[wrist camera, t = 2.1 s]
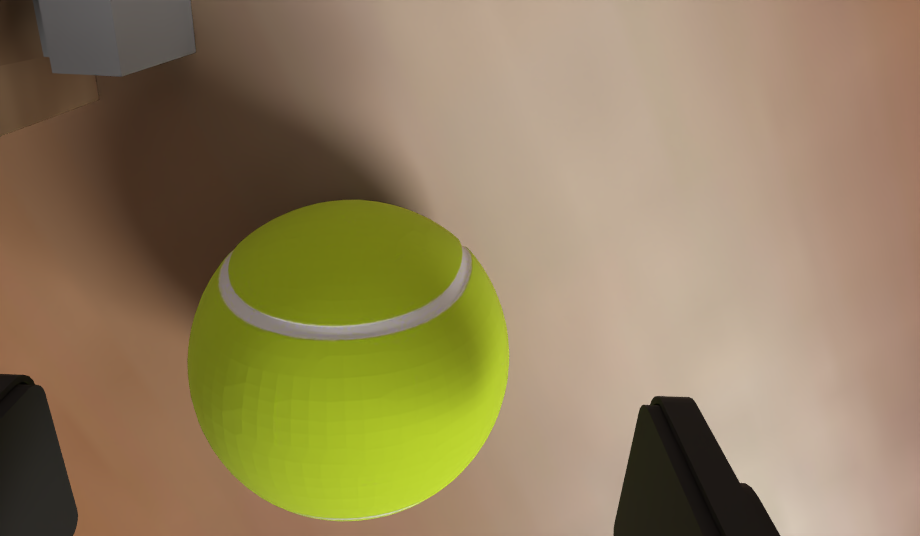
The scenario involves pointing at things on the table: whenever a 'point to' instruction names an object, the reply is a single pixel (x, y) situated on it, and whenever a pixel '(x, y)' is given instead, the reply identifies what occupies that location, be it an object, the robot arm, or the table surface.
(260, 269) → the tennis ball
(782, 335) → the table surface
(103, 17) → the grey tray
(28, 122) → the dowel ramp
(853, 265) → the table surface
